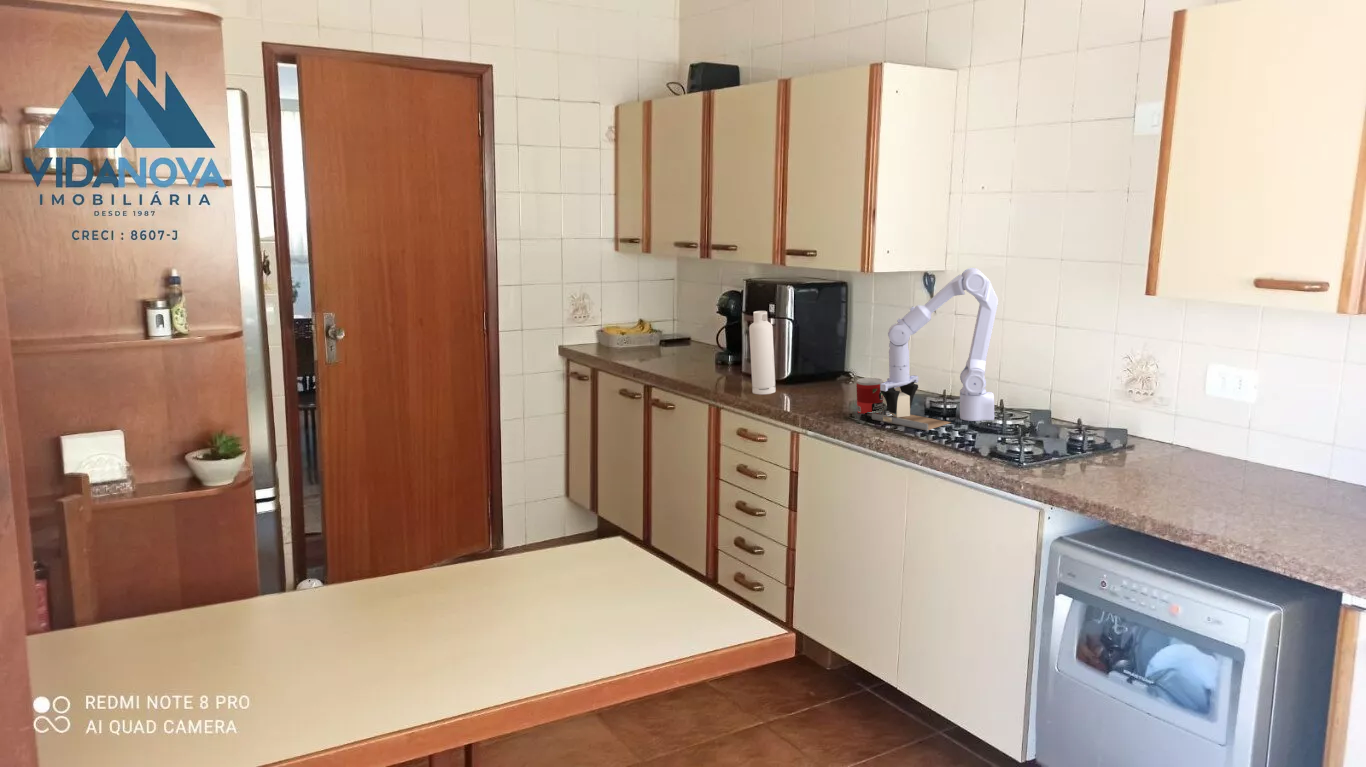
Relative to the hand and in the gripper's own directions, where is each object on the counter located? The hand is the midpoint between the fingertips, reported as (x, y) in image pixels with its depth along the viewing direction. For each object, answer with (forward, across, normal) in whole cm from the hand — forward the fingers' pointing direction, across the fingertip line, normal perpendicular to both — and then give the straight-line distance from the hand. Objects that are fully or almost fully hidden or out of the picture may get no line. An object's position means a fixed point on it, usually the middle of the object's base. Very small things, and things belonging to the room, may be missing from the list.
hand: (899, 410), depth 275 cm
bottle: (+4, -4, -63) cm, 63 cm away
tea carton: (+1, 0, 0) cm, 1 cm away
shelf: (+4, 0, +4) cm, 6 cm away
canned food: (+4, -2, -13) cm, 14 cm away
